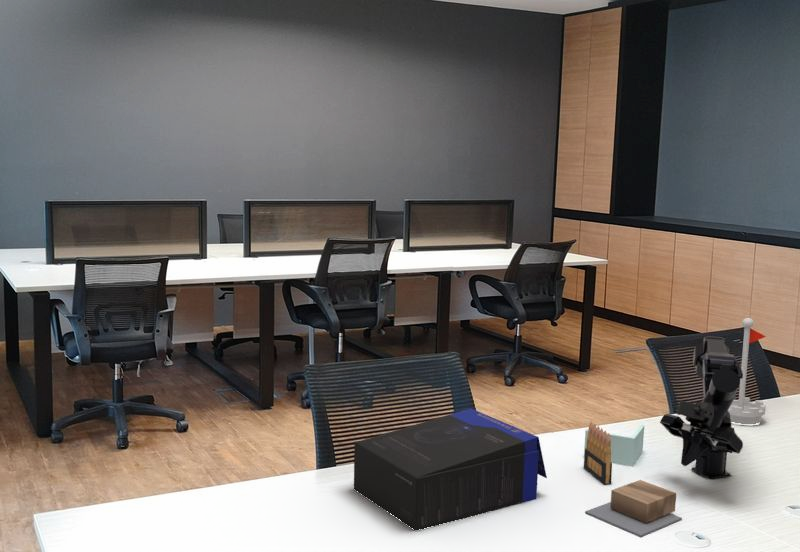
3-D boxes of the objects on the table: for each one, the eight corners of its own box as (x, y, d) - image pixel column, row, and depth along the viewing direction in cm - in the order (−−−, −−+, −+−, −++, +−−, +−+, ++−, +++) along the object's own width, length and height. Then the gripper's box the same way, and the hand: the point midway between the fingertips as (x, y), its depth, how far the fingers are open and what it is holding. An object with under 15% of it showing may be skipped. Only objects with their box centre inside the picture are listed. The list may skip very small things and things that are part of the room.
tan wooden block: (640, 479, 188) (611, 490, 182) (676, 493, 181) (647, 504, 175) (639, 498, 188) (610, 509, 182) (674, 512, 181) (646, 524, 175)
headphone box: (547, 497, 190) (550, 434, 187) (415, 532, 170) (417, 463, 168) (477, 462, 210) (479, 405, 208) (353, 490, 191) (354, 428, 189)
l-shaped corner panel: (642, 453, 220) (644, 425, 219) (632, 468, 209) (634, 438, 208) (595, 445, 225) (597, 417, 224) (583, 459, 214) (585, 430, 213)
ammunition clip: (611, 484, 197) (614, 434, 196) (604, 485, 197) (607, 434, 195) (590, 467, 208) (593, 419, 206) (583, 468, 207) (586, 420, 205)
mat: (626, 497, 190) (626, 496, 190) (681, 519, 179) (681, 517, 179) (585, 513, 181) (585, 511, 181) (640, 537, 170) (640, 535, 170)
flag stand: (720, 425, 243) (728, 321, 239) (711, 411, 256) (719, 312, 251) (769, 428, 241) (778, 323, 237) (758, 415, 254) (766, 315, 249)
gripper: (664, 379, 199) (632, 436, 195) (733, 394, 183) (700, 456, 179) (687, 405, 204) (657, 461, 200) (757, 422, 188) (725, 483, 184)
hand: (683, 464), depth 190 cm, fingers closed
